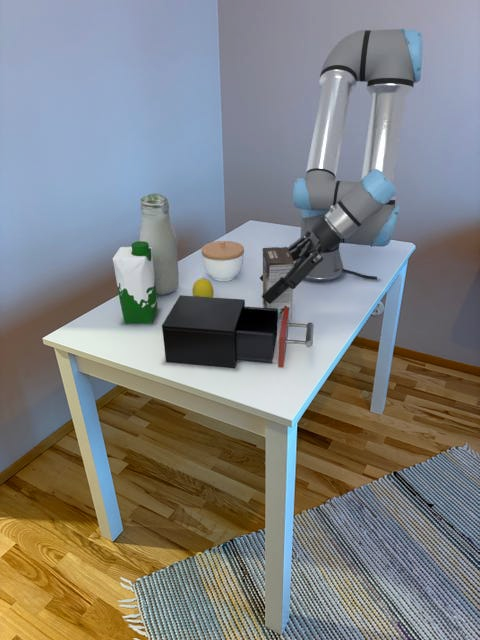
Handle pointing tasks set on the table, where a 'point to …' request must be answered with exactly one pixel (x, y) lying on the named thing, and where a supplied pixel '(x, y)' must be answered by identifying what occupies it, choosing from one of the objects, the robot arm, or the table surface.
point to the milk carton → (136, 282)
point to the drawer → (265, 335)
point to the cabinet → (202, 331)
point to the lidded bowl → (222, 259)
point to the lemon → (203, 288)
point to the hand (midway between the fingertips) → (264, 290)
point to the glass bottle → (160, 241)
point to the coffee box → (277, 277)
